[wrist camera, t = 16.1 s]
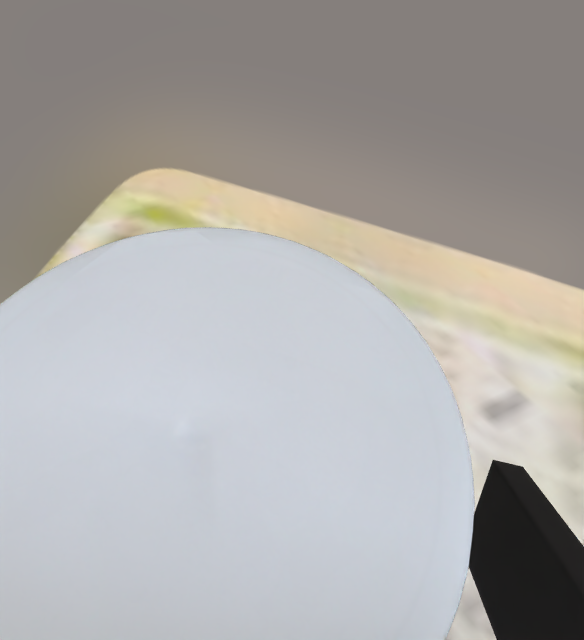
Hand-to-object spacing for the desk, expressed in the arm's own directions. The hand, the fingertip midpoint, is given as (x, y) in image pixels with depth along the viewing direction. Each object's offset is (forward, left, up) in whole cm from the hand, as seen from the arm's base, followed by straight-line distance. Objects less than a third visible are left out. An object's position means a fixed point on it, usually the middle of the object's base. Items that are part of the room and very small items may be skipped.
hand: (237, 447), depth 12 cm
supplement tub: (0, +1, -10) cm, 10 cm away
